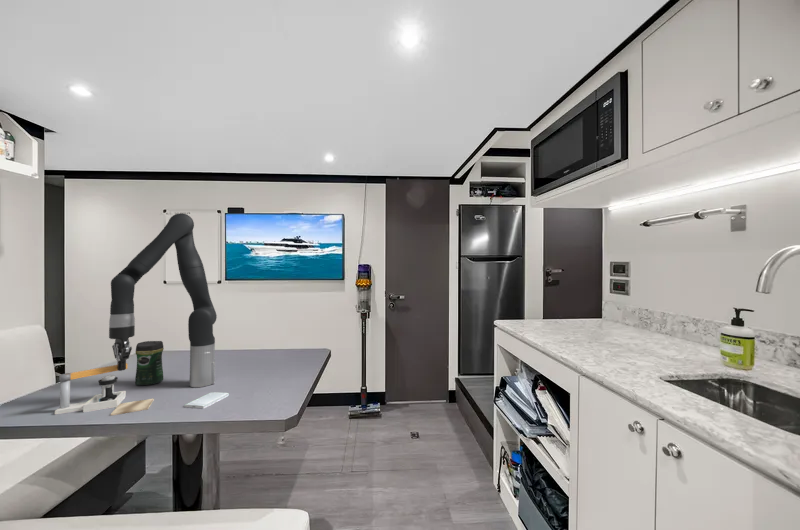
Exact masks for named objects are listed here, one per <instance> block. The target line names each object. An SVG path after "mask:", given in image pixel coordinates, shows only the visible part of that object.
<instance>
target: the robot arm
mask: <svg viewBox="0 0 800 530" xmlns="http://www.w3.org/2000/svg"><path fill="white" fill-rule="evenodd" d="M194 228H195V222H194V219H193V218H192V217H191V216H190V215H188V214H186V213H175V214H174V215H172V216H170V218H169V219H168V222H167V223H166V224H165V225H164V227H163V229H162V230H161V231H160V232H159V234H157V236H156V237H154V239H153V240H152V241H150V242H149V243H148V244H147V245H146V246H145V247H144V248H143V249H142V250H140V252H138V254H137V255H136V256H135V257H133V258H132V259H131V261H130V262H129V263H127V265H126V266H125V267H124V268H123V269H122V270H121V271H120V272H118V274H116V275H115V276H114V277H113V278H112V279H111V281H110V296H111V302H110V308H109V309H110V312H109V313H110V315H109V321H108V323H109V324H108V325H109V327H108V338H109V339H110V340H115V341H114V343H113V345H112V346H111V347H112V351H113V356H114V359H116V361H117V362H116V363H117V364H116V365H117V370H119V371H118V372H122V371H125V370H127V369H126V363H127V360H128V359H129V358H130V356H131V353H132V349H133V347H132V346H131V342H130V341H129V340H130V339H129V338H133V337H135V330H136V329H135V325H136V323H135V322H136V321H135V320H136V319H135V302H134V298H135V297H134V296H135V288H136V287H135V286H136V284H137V283H139V281H140V280H141V278H143V276H145V275H146V274H148V272H150V270H152V269H153V268H154V266H155V265H156V264H158V263H159V261H161V259H162V258H163V256H164V255H165V254H166V253H167V252H168V250H169V249H170V248H171V247H172V246H173V245H174V247H175V251H176V260H177V266H178V267H177V268H178V271H179V275H180V278H181V279H180V280H181V283H182V285H183V287H184V288H185V290H186V292H187V293H188V295H189V297H190V299H191V303H192V307H193V311H192V312H191V313H190V314H189V317H188V323H187V325H188V327H187V329H188V330H187V331H188V340H189V387H191V388H203V387H207V386H210V385H215V382H216V375H215V374H216V360H215V358H216V357H215V356H216V355H215V353H216V351H215V350H216V349H215V347H216V339H215V336H214V327H213V326H214V325H215V323H216V321H217V318H218V317H217V316H218V315H217V313H216V309H215V307H214V305H213V302H212V298H211V296H210V291H209V285H208V281H207V276H206V271H205V266H204V264H203V260H202V259H201V256H200V254H199V252H198V250H197V248H196V245H195V238H194Z"/></svg>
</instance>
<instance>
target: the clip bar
mask: <svg viewBox="0 0 800 530" xmlns="http://www.w3.org/2000/svg"><path fill="white" fill-rule="evenodd" d="M128 364H129V363H127V362H126V369H125V370H128ZM112 372H120V371H119V370H117V364H114V365H107V366H101V367H97V368H91V369H85V370H80V371H74V372H67V373H62V374H59V376H58V377H59V382H61V381H68V380H70V381H71V380H76V379H81V378H87V377H91V376H97V375H103V374H107V373H112Z"/></svg>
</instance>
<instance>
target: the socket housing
mask: <svg viewBox="0 0 800 530" xmlns="http://www.w3.org/2000/svg"><path fill="white" fill-rule="evenodd" d="M59 386H60V392H59V394H60V395H59V407H58V408H57V409H56V410H54V415H62V414H63V415H64V414H68V413H69V414H70V413H74V412H80V411H82V413H88V412H89V413H90V412H94V411H99V410H100V411H101V410H107V409H111V408H112V409H113V408H116V407H117V406H118V405H119V404H121V403H123V401H124V400H125V398H127V397H126V396H127V395H126V394H127V391H126V390H121V391H114V394H115V395H117V397H116V398H115V399H114V400H109V401H102V402H99V399H100V398H102V397H101V396H102V393H99V394H95V395H93V396H92V397H91V398H90V399H89V400H88V401H83V402H82V401H81V402H75V403H71V380H68V381H60V385H59Z"/></svg>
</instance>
